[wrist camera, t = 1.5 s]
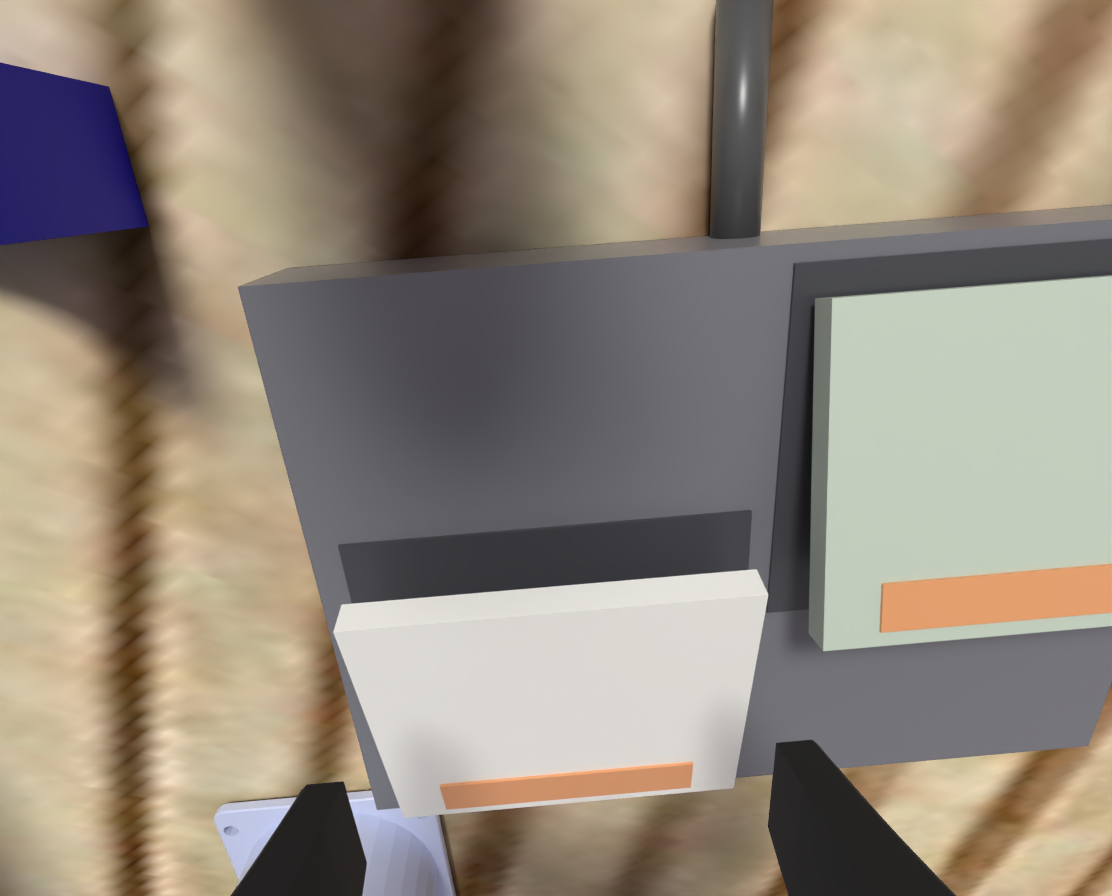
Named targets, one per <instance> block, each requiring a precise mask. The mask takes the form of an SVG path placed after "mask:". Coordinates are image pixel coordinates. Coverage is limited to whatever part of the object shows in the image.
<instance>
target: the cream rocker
mask: <svg viewBox="0 0 1112 896" xmlns="http://www.w3.org/2000/svg"><path fill="white" fill-rule="evenodd" d="M767 600H768V593H767V591H766V588H765V586H764V584H763V582H762V580H761V578H760V575H759V573H758V571H757V569H753V570H741V571H730V572H718V573H706V574H695V575H683V576H671V577H659V578H648V579H636V580H624V581H612V582H601V583H589V584H577V585H565V586H554V587H542V588H530V589H519V590H507V591H495V592H483V593H472V594H460V595H448V596H436V597H425V598H413V599H401V600H389V601H378V602H366V603H354V604H342V605H341V608H340V611H339V615H338V618H337V621H336V625H335V628H334V631H333V633H334V636H335V638H336V641H337V644H338V646H339V649H340V651H341V654H342V657H343V659H344V662H345V665H346V667H347V670H348V672H349V675H350V678H351V680H352V683H353V686H354V688H355V691H356V693H357V696H358V699H359V701H360V704H361V707H362V709H363V712H364V714H365V717H366V720H367V722H368V725H369V728H370V730H371V733H372V735H373V738H374V741H375V743H376V746H377V749H378V751H379V754H380V756H381V759H382V762H383V764H384V767H385V770H386V772H387V775H388V777H389V780H390V783H391V785H392V788H393V791H394V793H395V796H396V798H397V801H398V804H399V806H400V809H401V812H402V814H403V817H404V818H410V817H421V816H432V815H443V814H454V813H465V812H476V811H488V810H499V809H510V808H521V807H532V806H543V805H554V804H565V803H576V802H587V801H598V800H609V799H620V798H631V797H642V796H653V795H664V794H675V793H686V792H697V791H708V790H719V789H730V788H734V783H735V778H736V772H737V766H738V761H739V755H740V750H741V744H742V739H743V733H744V728H745V722H746V717H747V711H748V705H749V700H750V694H751V689H752V683H753V678H754V672H755V667H756V661H757V656H758V650H759V644H760V639H761V633H762V628H763V622H764V617H765V611H766V606H767Z"/></svg>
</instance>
